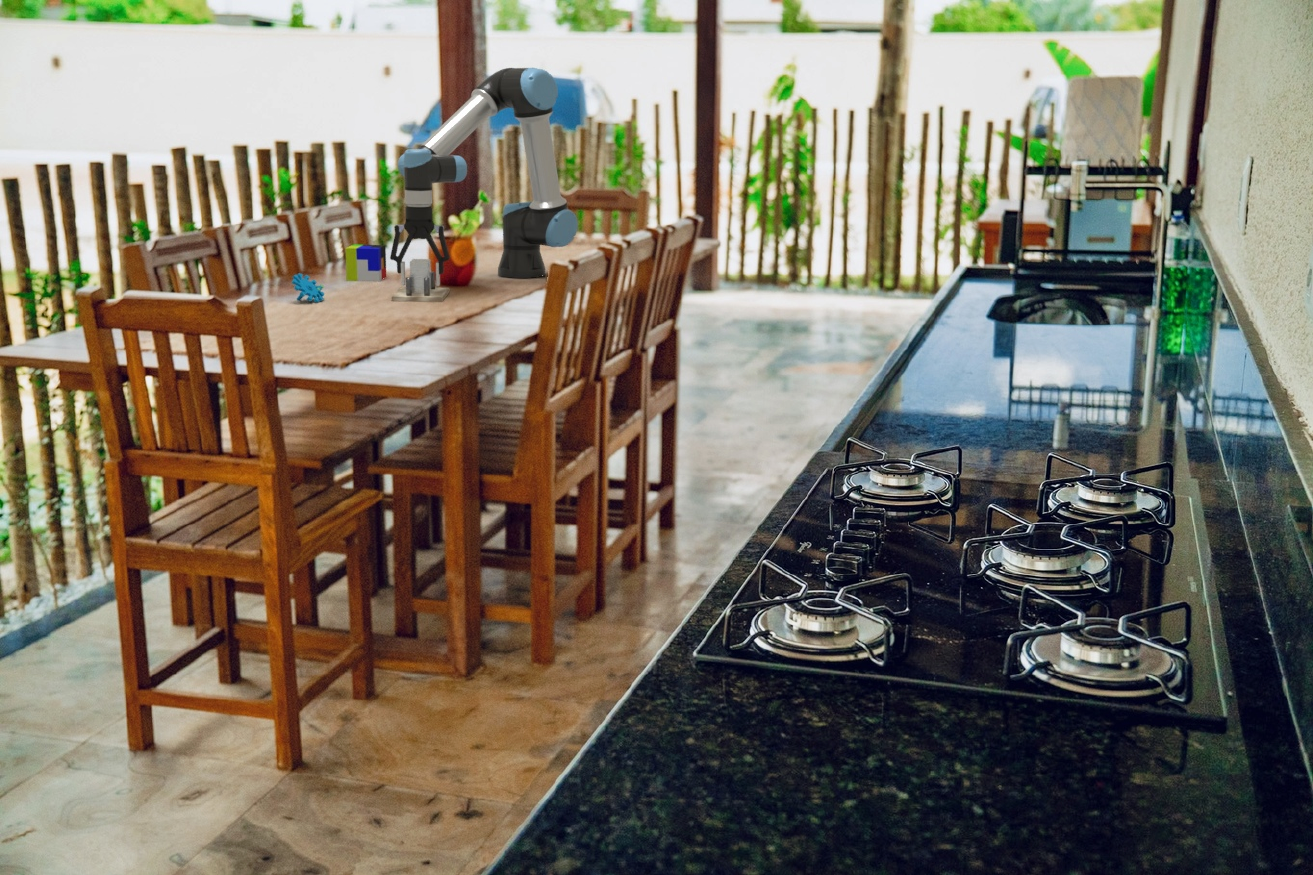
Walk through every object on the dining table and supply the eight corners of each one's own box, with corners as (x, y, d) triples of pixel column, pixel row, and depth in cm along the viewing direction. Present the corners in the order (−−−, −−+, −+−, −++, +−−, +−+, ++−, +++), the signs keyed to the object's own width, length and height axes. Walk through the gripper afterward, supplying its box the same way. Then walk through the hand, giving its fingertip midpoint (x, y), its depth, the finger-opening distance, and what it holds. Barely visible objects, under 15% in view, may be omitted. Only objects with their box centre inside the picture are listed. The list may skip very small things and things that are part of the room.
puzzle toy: (379, 281, 403) (378, 249, 401) (346, 281, 403) (345, 248, 401) (386, 277, 413) (385, 245, 410) (354, 276, 413) (353, 244, 411)
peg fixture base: (449, 291, 386) (448, 270, 385) (442, 301, 369) (441, 279, 367) (401, 291, 386) (400, 270, 384) (391, 300, 368) (390, 278, 367)
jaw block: (431, 290, 380) (430, 259, 378) (428, 294, 374) (427, 262, 371) (413, 290, 380) (412, 258, 378) (410, 293, 373) (409, 262, 371)
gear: (306, 299, 358) (288, 271, 360) (294, 313, 360) (276, 285, 362) (334, 299, 367) (316, 272, 370) (322, 313, 370) (304, 286, 372)
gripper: (459, 205, 375) (460, 283, 381) (381, 203, 374) (384, 282, 380) (456, 207, 368) (457, 287, 373) (377, 206, 367) (380, 286, 372)
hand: (420, 285), depth 376 cm, fingers open, 9 cm apart
